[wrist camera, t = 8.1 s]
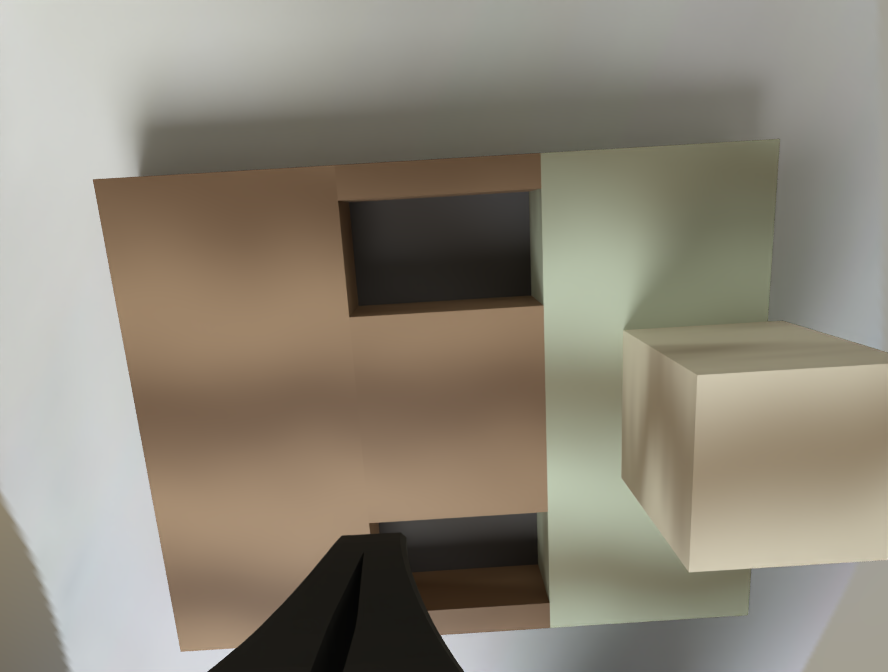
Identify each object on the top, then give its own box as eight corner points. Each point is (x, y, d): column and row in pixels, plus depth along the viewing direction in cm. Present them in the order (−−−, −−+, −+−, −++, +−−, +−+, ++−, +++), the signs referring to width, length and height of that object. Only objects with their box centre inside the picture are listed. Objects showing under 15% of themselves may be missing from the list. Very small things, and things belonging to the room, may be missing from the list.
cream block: (771, 468, 18) (893, 559, 14) (621, 477, 18) (689, 572, 14) (782, 320, 17) (918, 361, 13) (622, 329, 17) (697, 375, 12)
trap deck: (713, 570, 22) (748, 615, 20) (208, 603, 22) (180, 651, 20) (734, 148, 19) (779, 138, 16) (137, 184, 19) (93, 179, 16)
